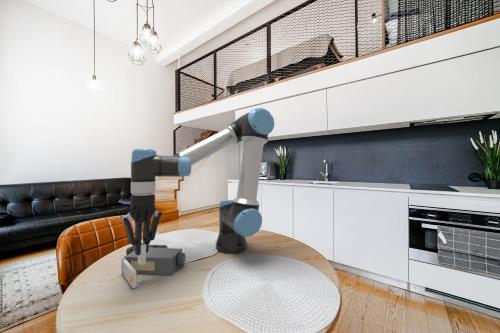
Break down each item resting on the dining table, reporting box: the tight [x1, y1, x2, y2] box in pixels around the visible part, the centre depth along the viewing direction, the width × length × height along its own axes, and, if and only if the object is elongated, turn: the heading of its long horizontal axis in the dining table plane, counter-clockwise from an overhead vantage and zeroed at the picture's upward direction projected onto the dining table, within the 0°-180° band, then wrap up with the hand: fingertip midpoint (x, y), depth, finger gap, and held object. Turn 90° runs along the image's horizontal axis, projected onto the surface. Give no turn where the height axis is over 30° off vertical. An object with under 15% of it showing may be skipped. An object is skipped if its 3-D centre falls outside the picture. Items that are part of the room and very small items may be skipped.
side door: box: [121, 257, 137, 289], centre depth 69 cm, size 13×2×5 cm, turn 45°
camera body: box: [124, 247, 187, 276], centre depth 78 cm, size 20×9×7 cm, turn 85°
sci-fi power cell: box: [125, 244, 168, 256], centre depth 89 cm, size 4×19×10 cm
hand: (141, 263), depth 69 cm, fingers closed
